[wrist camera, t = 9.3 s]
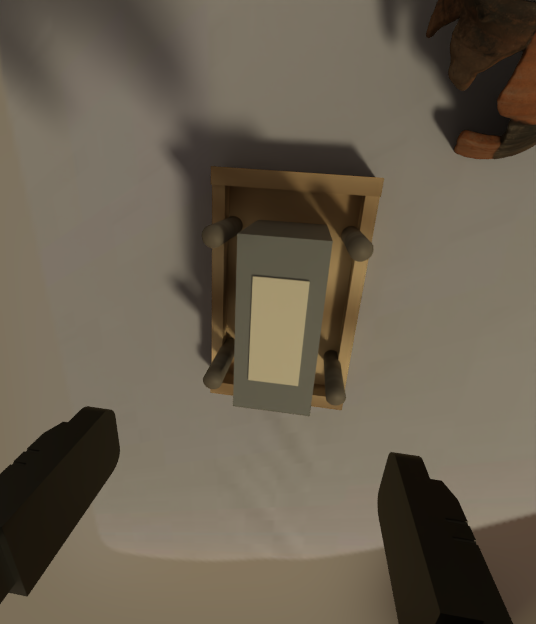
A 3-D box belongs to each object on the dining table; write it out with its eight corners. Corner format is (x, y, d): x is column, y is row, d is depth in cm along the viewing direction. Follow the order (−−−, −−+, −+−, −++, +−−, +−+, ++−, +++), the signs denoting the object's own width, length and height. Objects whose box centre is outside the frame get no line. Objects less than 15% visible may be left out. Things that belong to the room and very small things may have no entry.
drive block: (258, 219, 22) (236, 233, 16) (327, 224, 21) (332, 241, 15) (252, 353, 25) (232, 407, 19) (310, 360, 25) (309, 417, 19)
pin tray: (221, 167, 22) (190, 162, 16) (376, 178, 21) (399, 176, 15) (219, 375, 28) (195, 423, 22) (339, 390, 27) (345, 444, 21)
